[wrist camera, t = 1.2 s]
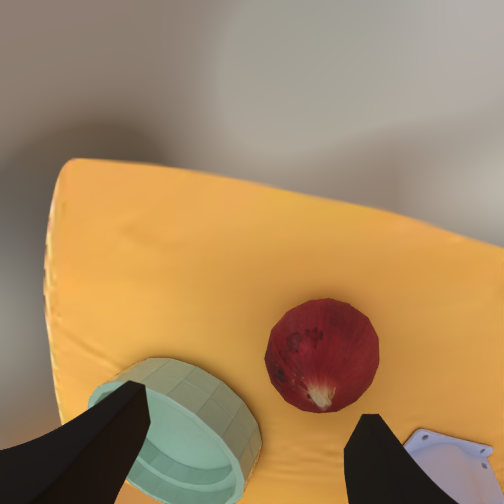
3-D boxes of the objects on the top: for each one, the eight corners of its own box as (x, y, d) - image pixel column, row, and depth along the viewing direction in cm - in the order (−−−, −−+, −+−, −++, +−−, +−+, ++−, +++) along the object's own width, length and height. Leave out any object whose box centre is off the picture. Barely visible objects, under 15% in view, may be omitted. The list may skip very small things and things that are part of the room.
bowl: (275, 382, 19) (256, 424, 14) (251, 491, 21) (234, 529, 16) (118, 334, 22) (77, 354, 18) (129, 444, 24) (101, 470, 19)
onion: (271, 359, 19) (231, 431, 11) (291, 276, 18) (257, 314, 11) (356, 379, 18) (359, 461, 10) (383, 297, 17) (413, 349, 9)
